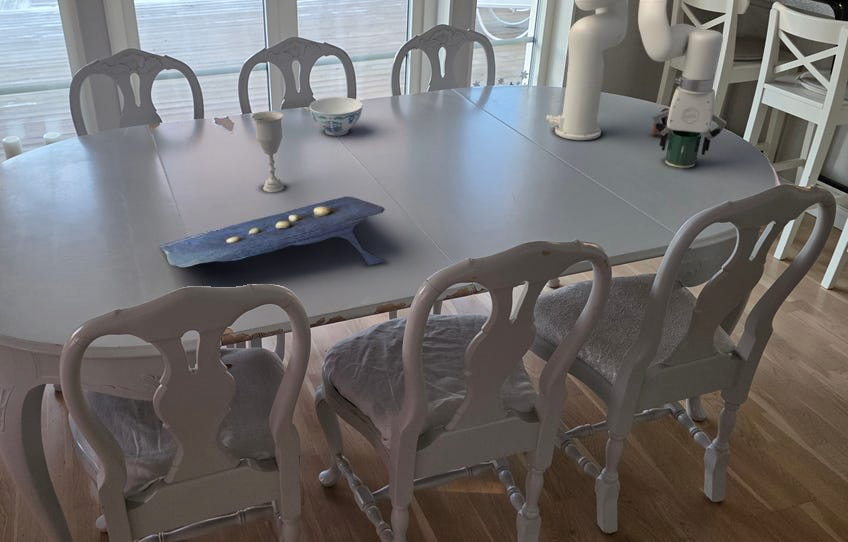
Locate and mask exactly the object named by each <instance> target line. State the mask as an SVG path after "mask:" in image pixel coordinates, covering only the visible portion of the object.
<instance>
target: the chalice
mask: <svg viewBox="0 0 848 542" xmlns="http://www.w3.org/2000/svg"><path fill="white" fill-rule="evenodd" d="M283 117H284V114H282V113H281V112H278V111H272V110H271V111H269V110H267V111H259V112H255V113H254V114H252V116H251V119H252V120H253V122H254V127H255V138H256V140H257V143H258V144H259V147H260V148H261V150H262V151H263V153H264V154H265V155H268V161H267V163H268V165H269V167H268V169H267V170H268V171H269V174H270V175H269V177H267V178H266V180H265V181H264V186H263V188H262V189H263V191H264V192H267V193H277V192H281V191H283V190H284V189H285V186H284V185H283V182H282V181H281V179H280V178H279V177H277V176H276V175H275V171H276V170H277V168H275V166H274V165H275V162H276V161H275V159H274V155H275V154H277V152H278V150H279V148H280V145H281V143H282V138H283V128H282V119H283Z"/></svg>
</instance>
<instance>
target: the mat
mask: <svg viewBox="0 0 848 542" xmlns="http://www.w3.org/2000/svg"><path fill="white" fill-rule="evenodd" d="M384 211H386V208H385V207H384V206H381V205H378V204H375V203H372V202H369V201H367V200H363V199H360V198H357V197H354V196H342V197H339V198H334V199H329V200H325V201H321V202H317V203H314V204H308V205H306V206H302V207H298V208H295V209H292V210H291V209H290V210H286V211H284V212H280V213H276V214H272V215H268V216H264V217H260V218H256V219H251V220H249V221H247V220H246V221H244V222H240V223H236V224H232V225H229V226H225V227H222V228H223V229H222V228H219V229H220V230H216V231H212V230H209V231H210V232H208V231H207V232H208V233H206V234H204V232H201V233H198V234H195V235H191V236H190V235H189V236H186V237H182V238H179V239H175V240H172V241H169V242H165V243H161V244H159V245H158V247H159V248H161V250H162V252H164V254H166V259H167V261H168V263H169V265H171V266H176V267H178V268H187V267H192V266H195V265H198V264H206V263H211V262H229V261H231V262H232V261H237V260H242V259H245V258H250V257H255V256H258V255H263V254H268V253H270V252H275V251H278V250H281V249H284V248H287V247H290V246H292V245H293V246H300V245H301V246H303V245H309V244H314V243H319V242H320V243H321V242H322V241H324V240H327V239H331V238H342V239H345V240H347V241H349V242H350V244H352V246H353V247H355V248H356V250H357V251H358V252H359V253H360V254H361V255H362V256H363V258H364V259H365V262H366V264H367V265H368V266H373V265H377V264H381V263H384V262H386V260H383V259H380V258H379V257H376V256H375V255H373V254H371V253H369V252H367V251H365V250H364V249H363V248H362V247H361V245H360V243H359V241H358V240H357V238H356V235H355V234H354V233H353V232H354V231H353V230H354V228H355V226H356V225H358V224H360V223H361V222H364V221H365V220H366V219H368V218H370V217H374V216H376V215H380V214H383V213H384ZM200 234H203V235H200ZM196 235H200V236H197V237H194V238H190V237H192V236H196ZM188 238H190V239H188ZM183 239H188V240H184V241H182V242H178V243H175V244H172V245H171V246H165V247H161V246H164V245H168V244H170V243H174V242H176V241H180V240H183Z"/></svg>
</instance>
